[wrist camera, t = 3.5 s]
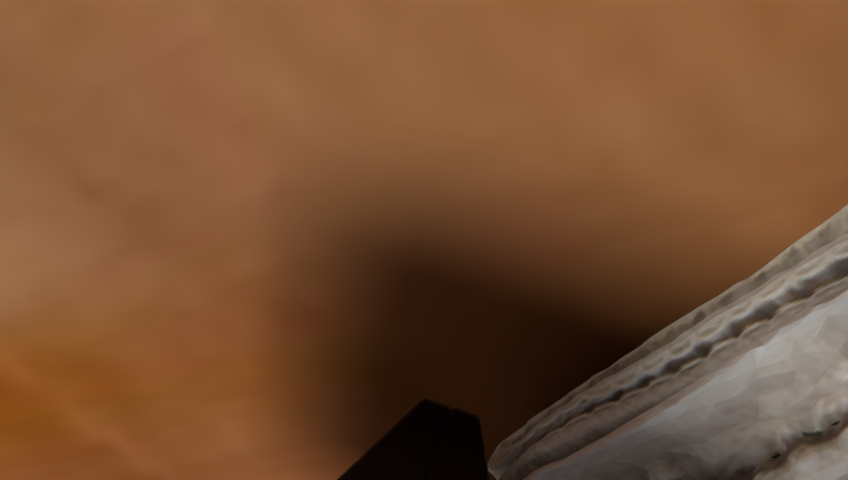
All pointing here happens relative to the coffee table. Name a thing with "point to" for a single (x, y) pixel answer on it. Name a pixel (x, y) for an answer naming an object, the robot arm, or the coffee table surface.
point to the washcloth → (715, 387)
